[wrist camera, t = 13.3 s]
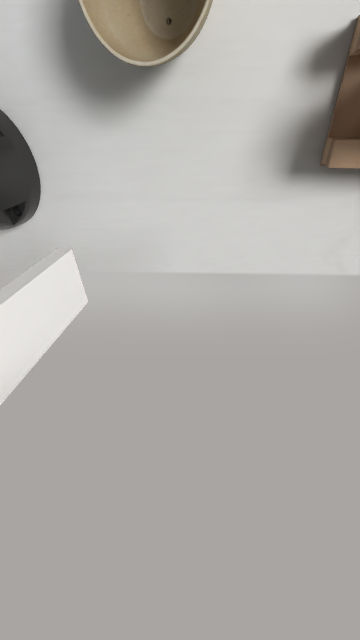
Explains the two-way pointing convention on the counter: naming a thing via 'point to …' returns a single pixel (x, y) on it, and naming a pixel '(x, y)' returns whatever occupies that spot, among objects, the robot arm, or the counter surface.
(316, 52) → the counter surface
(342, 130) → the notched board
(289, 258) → the counter surface
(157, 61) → the flower pot
